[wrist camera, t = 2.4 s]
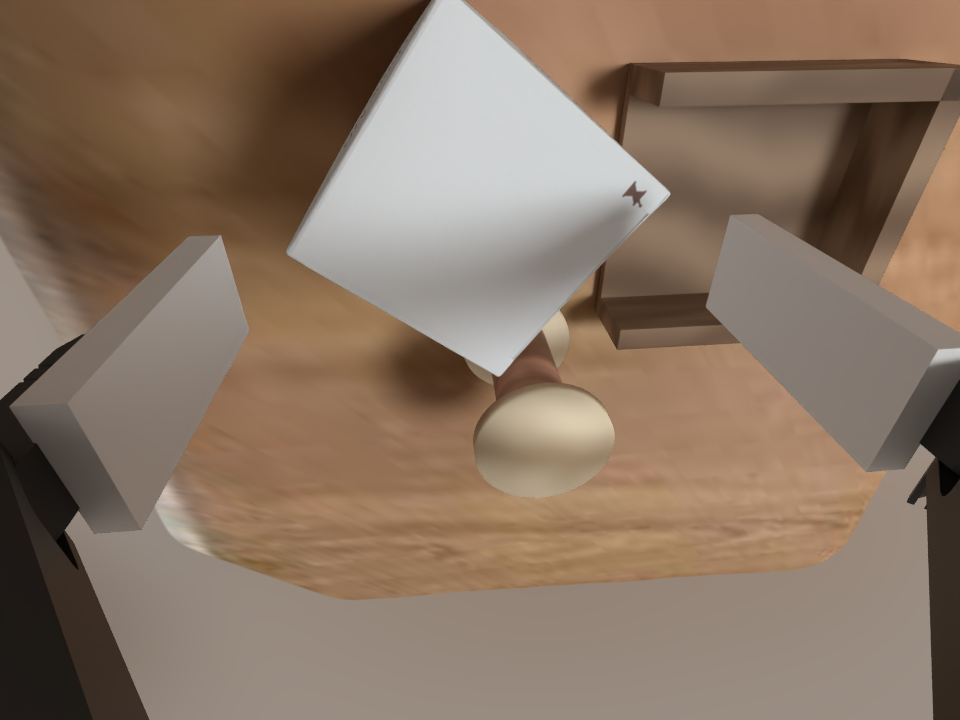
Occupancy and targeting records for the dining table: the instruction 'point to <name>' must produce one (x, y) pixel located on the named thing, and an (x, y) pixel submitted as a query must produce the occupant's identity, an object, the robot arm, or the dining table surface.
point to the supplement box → (472, 192)
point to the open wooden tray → (768, 174)
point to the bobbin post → (540, 423)
